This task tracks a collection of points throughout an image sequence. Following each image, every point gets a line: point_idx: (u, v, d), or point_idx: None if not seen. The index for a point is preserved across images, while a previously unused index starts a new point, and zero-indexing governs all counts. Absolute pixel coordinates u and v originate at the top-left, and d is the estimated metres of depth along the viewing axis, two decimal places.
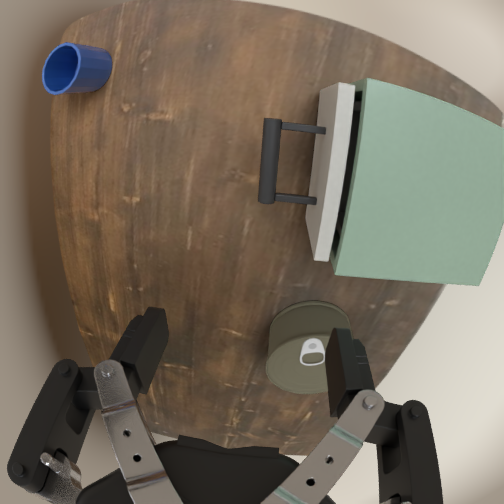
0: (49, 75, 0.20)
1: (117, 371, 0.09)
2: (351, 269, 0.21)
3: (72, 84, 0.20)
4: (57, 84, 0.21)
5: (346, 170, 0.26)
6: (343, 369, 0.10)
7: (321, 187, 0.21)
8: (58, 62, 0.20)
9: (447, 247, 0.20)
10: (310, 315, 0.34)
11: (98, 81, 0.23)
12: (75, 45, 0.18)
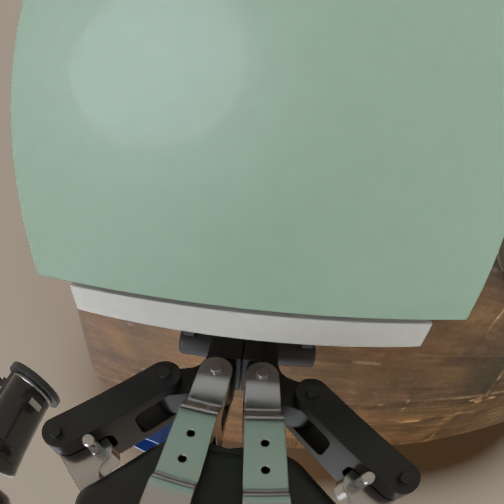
0: None
1: (224, 373, 0.10)
2: (469, 289, 0.07)
3: None
4: None
5: None
6: (246, 341, 0.11)
7: None
8: None
9: None
10: None
11: None
12: None
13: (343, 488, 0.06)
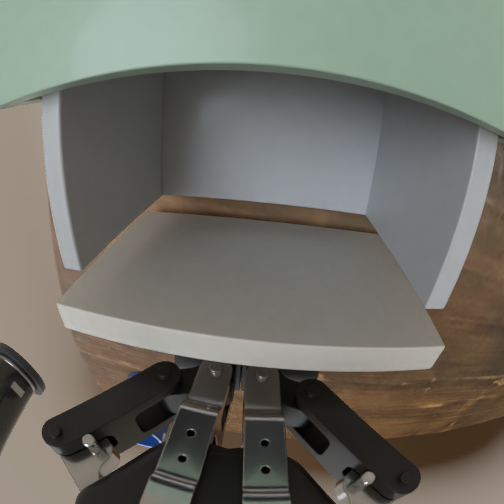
0: None
1: (224, 373, 0.10)
2: None
3: None
4: None
5: (282, 191, 0.14)
6: None
7: None
8: None
9: None
10: None
11: None
12: None
13: (343, 488, 0.06)
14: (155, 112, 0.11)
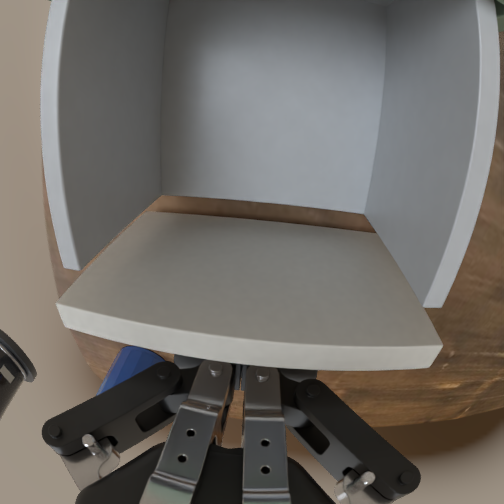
0: None
1: (224, 373, 0.10)
2: None
3: None
4: None
5: (280, 190, 0.14)
6: None
7: None
8: None
9: None
10: None
11: None
12: None
13: (343, 488, 0.06)
14: (153, 113, 0.11)
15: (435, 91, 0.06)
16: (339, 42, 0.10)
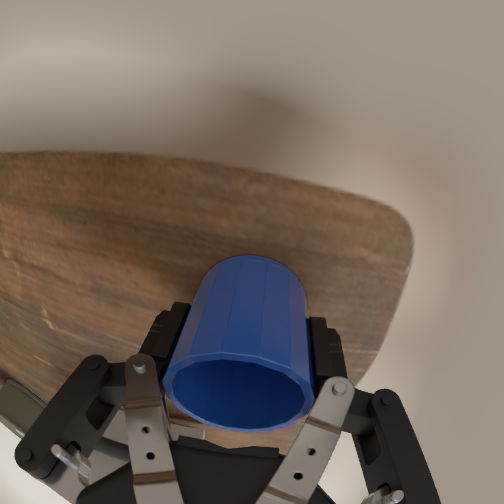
0: None
1: (149, 366, 0.09)
2: None
3: None
4: None
5: None
6: (315, 356, 0.11)
7: (98, 469, 0.16)
8: None
9: None
10: None
11: None
12: None
13: (371, 499, 0.06)
14: None
15: None
16: None
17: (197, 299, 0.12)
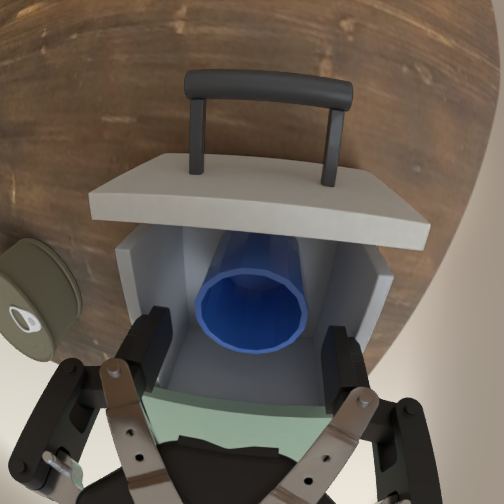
0: None
1: (123, 370, 0.09)
2: None
3: None
4: None
5: None
6: (338, 366, 0.10)
7: (225, 183, 0.11)
8: None
9: None
10: (61, 297, 0.23)
11: None
12: None
13: None
14: (333, 276, 0.19)
15: None
16: None
17: (219, 246, 0.17)
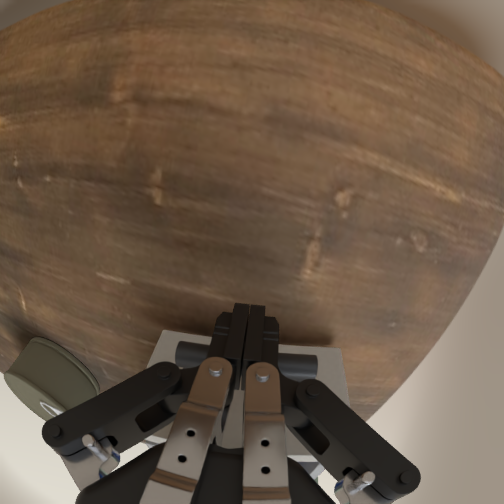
0: None
1: (224, 373, 0.10)
2: None
3: None
4: None
5: None
6: (246, 341, 0.11)
7: None
8: None
9: None
10: (83, 393, 0.25)
11: None
12: None
13: (343, 488, 0.06)
14: None
15: None
16: None
17: None
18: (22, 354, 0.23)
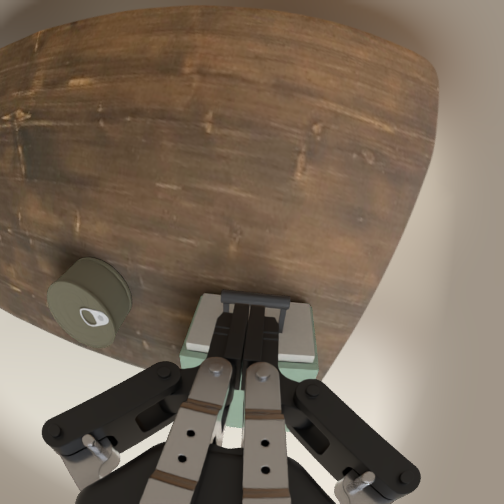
0: None
1: (224, 373, 0.10)
2: (186, 363, 0.29)
3: None
4: None
5: None
6: (246, 341, 0.11)
7: None
8: None
9: None
10: (120, 300, 0.36)
11: None
12: None
13: (343, 488, 0.06)
14: None
15: None
16: None
17: None
18: (68, 270, 0.34)
